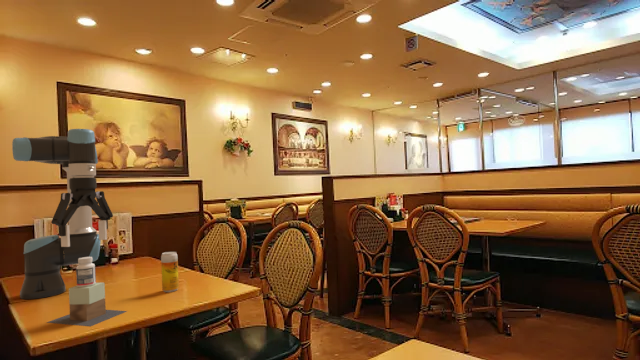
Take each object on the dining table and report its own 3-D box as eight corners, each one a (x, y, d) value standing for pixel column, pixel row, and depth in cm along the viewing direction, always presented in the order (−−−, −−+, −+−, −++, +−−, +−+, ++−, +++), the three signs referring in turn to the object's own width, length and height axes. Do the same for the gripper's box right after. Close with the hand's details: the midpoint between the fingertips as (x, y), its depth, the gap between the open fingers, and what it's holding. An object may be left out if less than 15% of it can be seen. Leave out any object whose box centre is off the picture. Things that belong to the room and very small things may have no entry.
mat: (46, 323, 121) (46, 322, 121) (86, 309, 134) (86, 308, 134) (90, 327, 115) (90, 326, 115) (127, 312, 128) (127, 311, 128)
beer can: (173, 292, 151) (171, 254, 151) (159, 292, 152) (157, 254, 152) (181, 288, 157) (180, 251, 157) (168, 288, 158) (166, 251, 158)
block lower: (69, 319, 122) (69, 303, 122) (89, 312, 129) (88, 297, 129) (86, 321, 120) (86, 304, 120) (105, 313, 127) (105, 298, 127)
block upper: (69, 304, 122) (68, 288, 122) (85, 297, 129) (85, 282, 129) (89, 304, 121) (88, 288, 121) (105, 297, 128) (104, 282, 128)
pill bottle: (82, 283, 127) (81, 256, 127) (98, 282, 128) (97, 255, 128) (73, 288, 122) (72, 259, 122) (90, 286, 122) (89, 258, 123)
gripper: (54, 176, 112) (57, 250, 112) (122, 176, 136) (125, 237, 136) (35, 177, 115) (38, 249, 115) (106, 177, 138) (108, 237, 138)
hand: (85, 243), depth 125 cm, fingers open, 13 cm apart
